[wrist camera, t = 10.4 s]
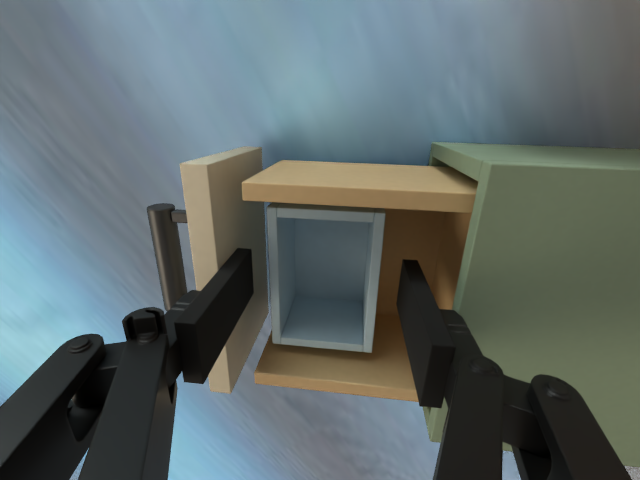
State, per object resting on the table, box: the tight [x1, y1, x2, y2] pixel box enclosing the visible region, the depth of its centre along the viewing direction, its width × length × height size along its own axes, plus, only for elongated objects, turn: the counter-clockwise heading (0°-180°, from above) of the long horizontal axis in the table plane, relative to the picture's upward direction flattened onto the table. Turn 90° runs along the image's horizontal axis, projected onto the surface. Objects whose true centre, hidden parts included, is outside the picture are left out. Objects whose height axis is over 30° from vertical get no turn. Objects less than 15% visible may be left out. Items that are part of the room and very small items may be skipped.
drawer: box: [147, 146, 478, 402], centre depth 18 cm, size 18×12×8 cm
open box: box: [267, 202, 386, 353], centre depth 19 cm, size 8×6×5 cm
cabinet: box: [423, 142, 640, 467], centre depth 17 cm, size 15×14×10 cm
